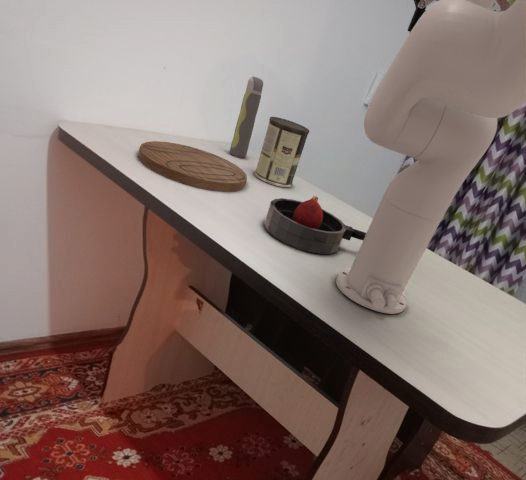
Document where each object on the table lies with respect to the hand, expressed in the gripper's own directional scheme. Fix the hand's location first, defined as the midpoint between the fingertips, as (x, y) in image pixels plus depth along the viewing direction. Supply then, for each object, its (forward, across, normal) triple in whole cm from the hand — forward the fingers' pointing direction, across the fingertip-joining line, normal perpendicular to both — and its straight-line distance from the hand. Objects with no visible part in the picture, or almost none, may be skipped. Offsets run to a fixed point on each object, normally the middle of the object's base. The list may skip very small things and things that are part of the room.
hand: (437, 48), depth 79 cm
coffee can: (+37, -19, +30) cm, 51 cm away
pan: (+36, -12, -6) cm, 39 cm away
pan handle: (+34, +2, -6) cm, 35 cm away
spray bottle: (+37, -30, +44) cm, 65 cm away
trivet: (+37, -38, +16) cm, 55 cm away
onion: (+36, -12, -6) cm, 39 cm away
